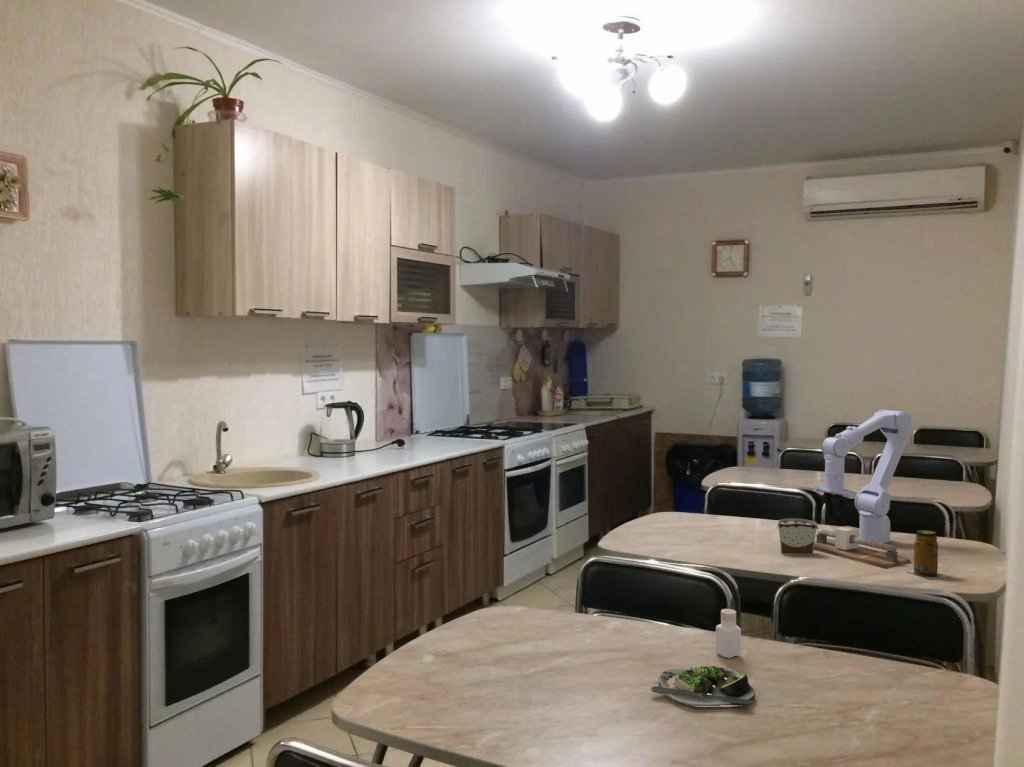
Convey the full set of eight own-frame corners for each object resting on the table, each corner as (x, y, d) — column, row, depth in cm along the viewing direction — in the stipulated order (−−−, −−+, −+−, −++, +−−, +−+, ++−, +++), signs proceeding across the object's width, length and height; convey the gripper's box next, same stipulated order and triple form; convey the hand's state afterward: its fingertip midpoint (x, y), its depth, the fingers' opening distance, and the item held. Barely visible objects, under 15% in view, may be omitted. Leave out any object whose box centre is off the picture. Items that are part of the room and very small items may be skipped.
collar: (847, 544, 260) (848, 525, 259) (858, 547, 256) (859, 528, 256) (835, 547, 257) (835, 528, 256) (846, 550, 253) (846, 530, 253)
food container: (813, 549, 260) (813, 518, 259) (818, 554, 254) (818, 522, 253) (772, 548, 261) (773, 517, 261) (776, 553, 255) (777, 522, 254)
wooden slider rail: (828, 541, 269) (829, 525, 269) (910, 562, 244) (910, 544, 244) (803, 546, 263) (804, 529, 263) (884, 568, 238) (885, 549, 238)
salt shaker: (727, 660, 172) (727, 615, 171) (714, 653, 175) (714, 609, 175) (742, 656, 174) (742, 612, 173) (728, 650, 177) (729, 607, 177)
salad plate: (663, 718, 147) (663, 692, 146) (638, 677, 164) (638, 654, 164) (767, 712, 149) (767, 687, 148) (731, 672, 166) (732, 650, 166)
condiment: (925, 569, 237) (926, 528, 237) (950, 577, 229) (950, 534, 229) (905, 571, 235) (906, 530, 234) (930, 580, 227) (931, 537, 226)
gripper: (807, 473, 267) (807, 514, 267) (845, 479, 254) (845, 523, 255) (822, 471, 270) (821, 512, 271) (860, 477, 258) (859, 520, 259)
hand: (833, 517), depth 263 cm, fingers closed
